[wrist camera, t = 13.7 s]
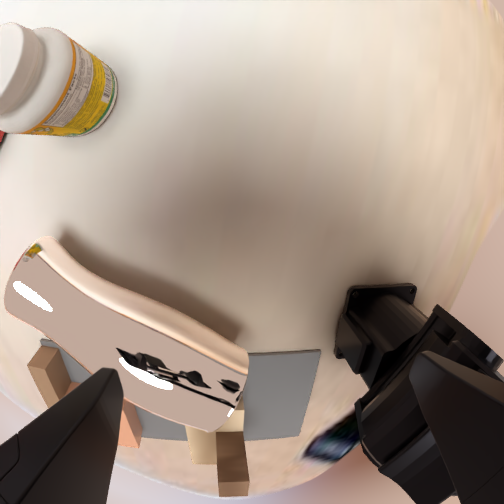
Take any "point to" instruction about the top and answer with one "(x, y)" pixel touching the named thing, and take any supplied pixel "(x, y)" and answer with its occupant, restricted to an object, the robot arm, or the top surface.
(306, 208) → the top surface
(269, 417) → the slate board
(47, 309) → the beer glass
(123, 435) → the tile
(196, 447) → the two-tone stepped block
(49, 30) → the supplement bottle
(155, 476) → the top surface
